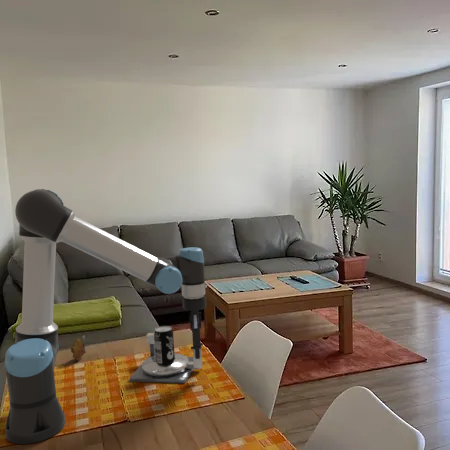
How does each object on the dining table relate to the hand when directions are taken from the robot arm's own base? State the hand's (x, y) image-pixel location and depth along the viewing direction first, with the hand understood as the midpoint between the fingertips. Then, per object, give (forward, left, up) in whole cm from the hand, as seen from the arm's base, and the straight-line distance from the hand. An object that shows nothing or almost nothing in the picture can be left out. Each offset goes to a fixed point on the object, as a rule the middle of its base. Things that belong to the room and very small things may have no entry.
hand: (198, 366), depth 154 cm
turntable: (+6, +11, -3) cm, 13 cm away
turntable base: (+6, +13, -4) cm, 15 cm away
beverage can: (+6, +13, -2) cm, 15 cm away
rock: (+14, +49, -5) cm, 51 cm away
